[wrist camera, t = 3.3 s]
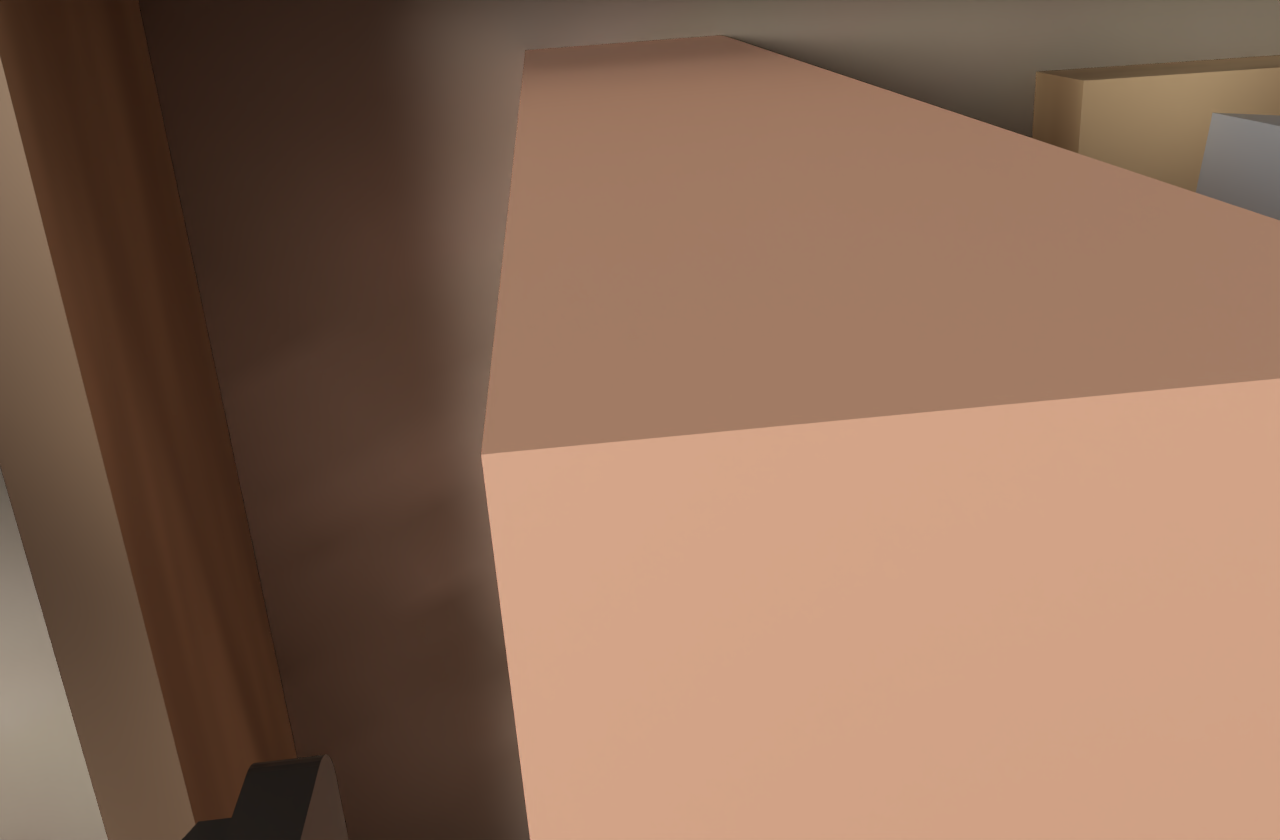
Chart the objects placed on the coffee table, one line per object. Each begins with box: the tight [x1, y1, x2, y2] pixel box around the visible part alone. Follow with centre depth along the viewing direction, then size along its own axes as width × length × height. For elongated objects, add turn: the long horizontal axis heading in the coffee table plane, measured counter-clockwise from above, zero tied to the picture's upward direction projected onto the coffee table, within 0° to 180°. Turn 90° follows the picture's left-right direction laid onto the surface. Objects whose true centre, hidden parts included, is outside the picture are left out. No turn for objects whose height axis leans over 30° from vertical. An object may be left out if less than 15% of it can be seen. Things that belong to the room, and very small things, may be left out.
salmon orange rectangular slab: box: [481, 35, 1280, 840], centre depth 13 cm, size 3×14×16 cm, turn 4°
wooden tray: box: [0, 0, 297, 840], centre depth 18 cm, size 25×20×5 cm
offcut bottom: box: [1032, 55, 1280, 193], centre depth 20 cm, size 9×12×2 cm
